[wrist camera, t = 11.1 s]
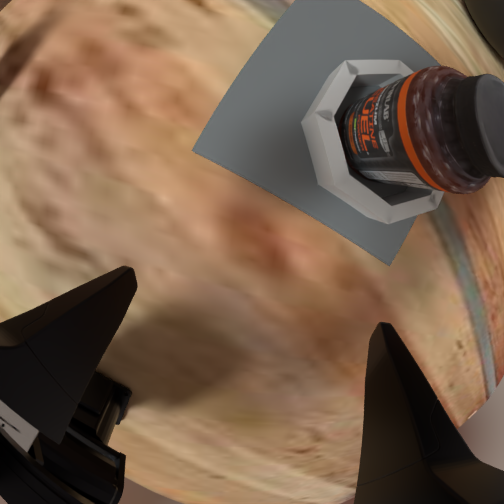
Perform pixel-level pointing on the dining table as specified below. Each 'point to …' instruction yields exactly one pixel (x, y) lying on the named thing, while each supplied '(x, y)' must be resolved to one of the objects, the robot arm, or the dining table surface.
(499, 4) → the dark bowl with contents
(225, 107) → the collar mount
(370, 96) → the supplement bottle
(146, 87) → the dining table surface
